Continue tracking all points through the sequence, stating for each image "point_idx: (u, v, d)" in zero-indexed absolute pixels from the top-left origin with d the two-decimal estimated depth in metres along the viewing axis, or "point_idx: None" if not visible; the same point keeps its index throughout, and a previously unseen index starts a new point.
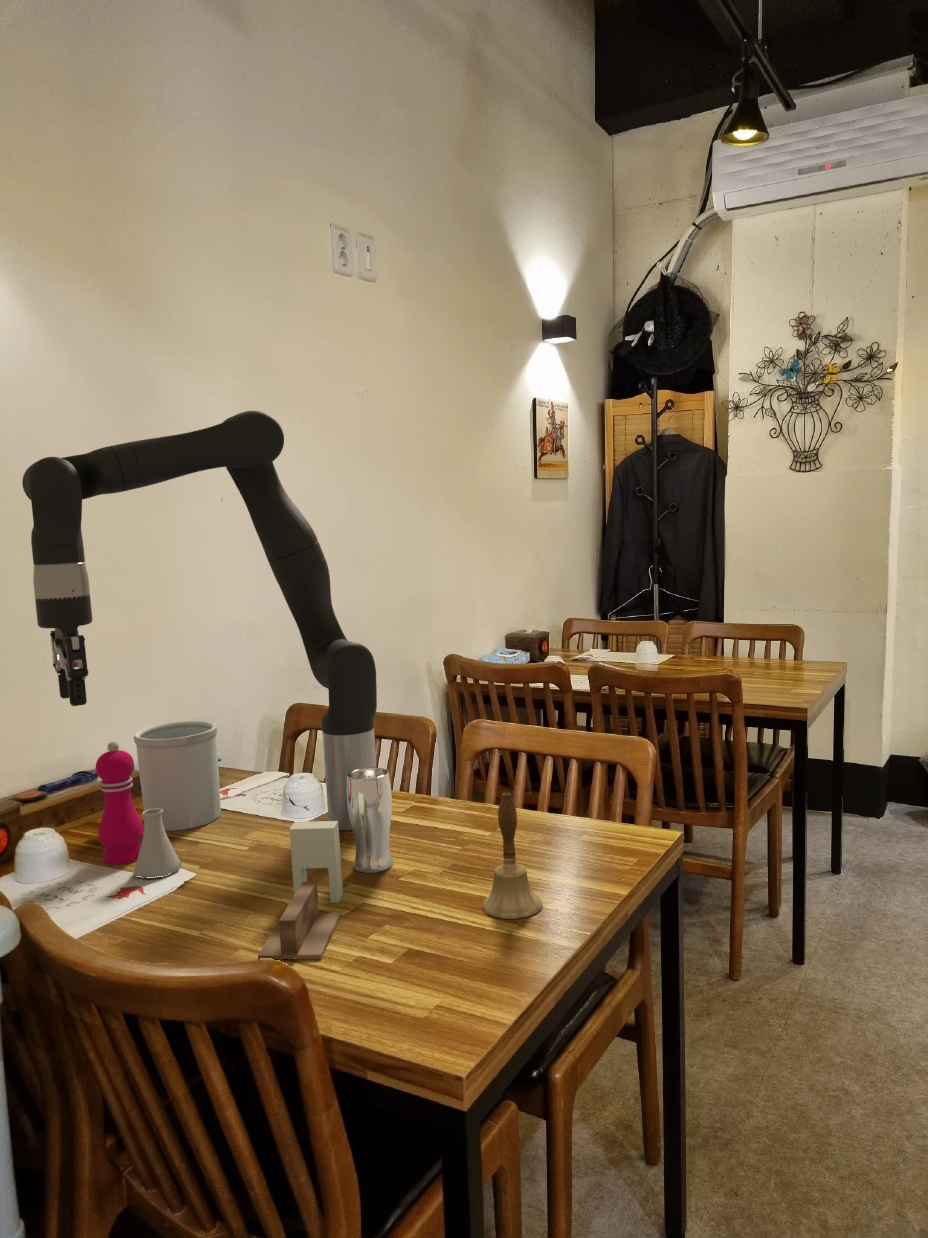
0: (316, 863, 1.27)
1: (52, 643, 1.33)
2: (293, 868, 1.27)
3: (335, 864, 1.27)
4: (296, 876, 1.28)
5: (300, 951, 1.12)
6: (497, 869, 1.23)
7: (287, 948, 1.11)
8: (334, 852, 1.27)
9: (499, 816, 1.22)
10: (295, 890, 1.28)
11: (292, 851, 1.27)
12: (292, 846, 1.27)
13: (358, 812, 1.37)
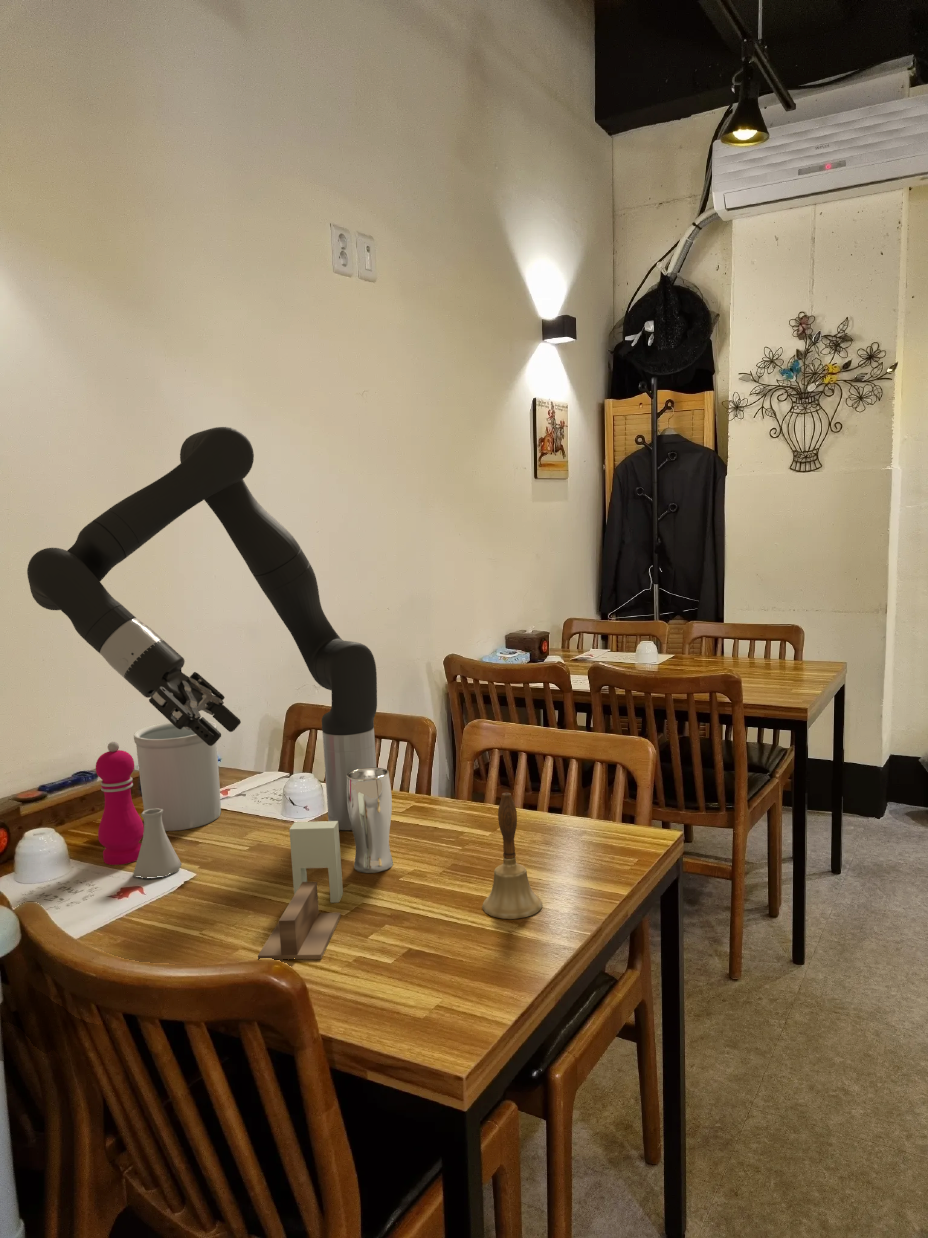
0: (316, 863, 1.27)
1: None
2: (293, 868, 1.27)
3: (335, 864, 1.27)
4: (296, 876, 1.28)
5: (300, 951, 1.12)
6: (497, 869, 1.23)
7: (287, 948, 1.11)
8: (334, 852, 1.27)
9: (499, 816, 1.22)
10: (295, 890, 1.28)
11: (292, 851, 1.27)
12: (292, 846, 1.27)
13: (358, 812, 1.37)
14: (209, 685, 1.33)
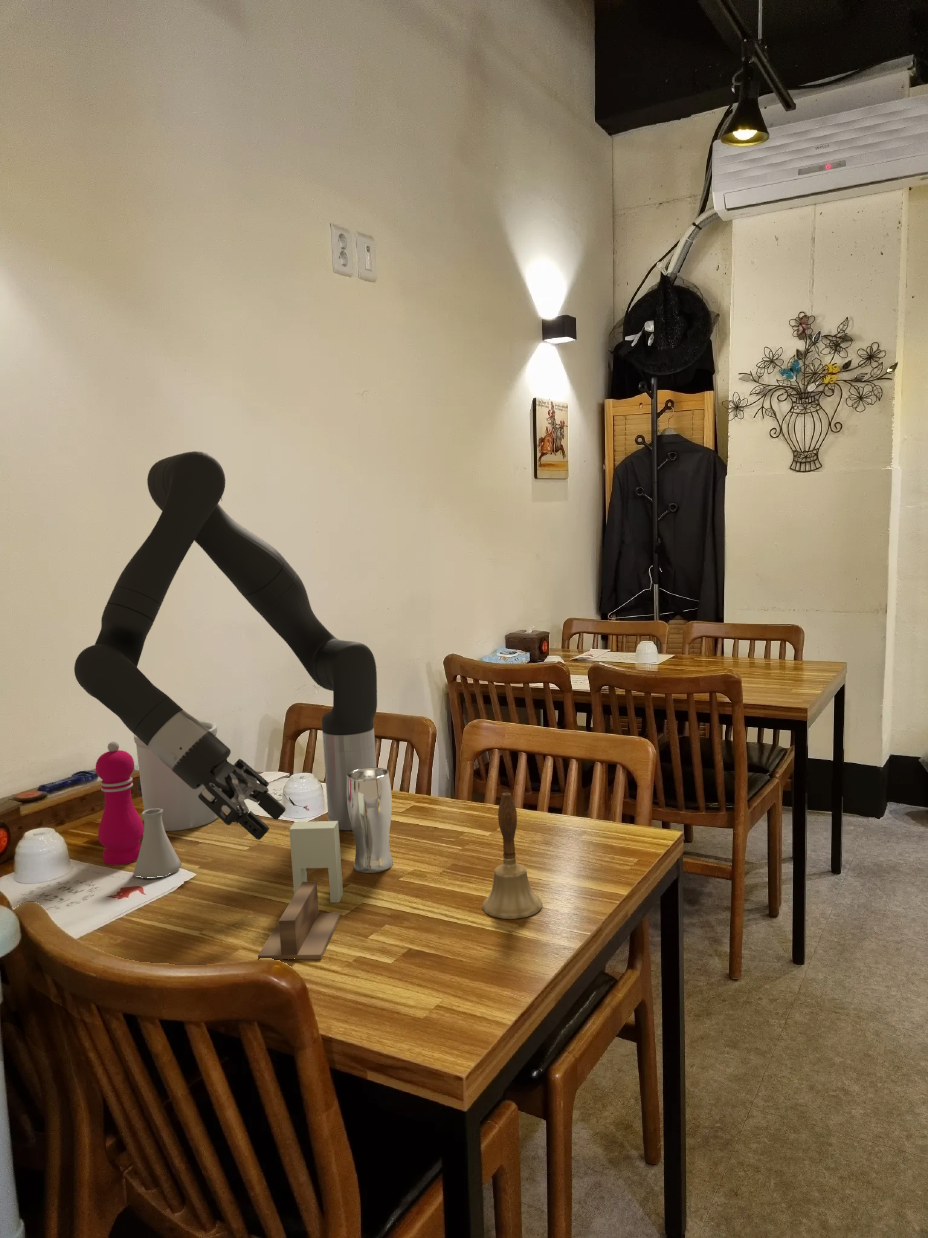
0: (316, 863, 1.27)
1: None
2: (293, 868, 1.27)
3: (335, 864, 1.27)
4: (296, 876, 1.28)
5: (300, 951, 1.12)
6: (497, 869, 1.23)
7: (287, 948, 1.11)
8: (334, 852, 1.27)
9: (499, 816, 1.22)
10: (295, 890, 1.28)
11: (292, 851, 1.27)
12: (292, 846, 1.27)
13: (358, 812, 1.37)
14: (254, 772, 1.34)
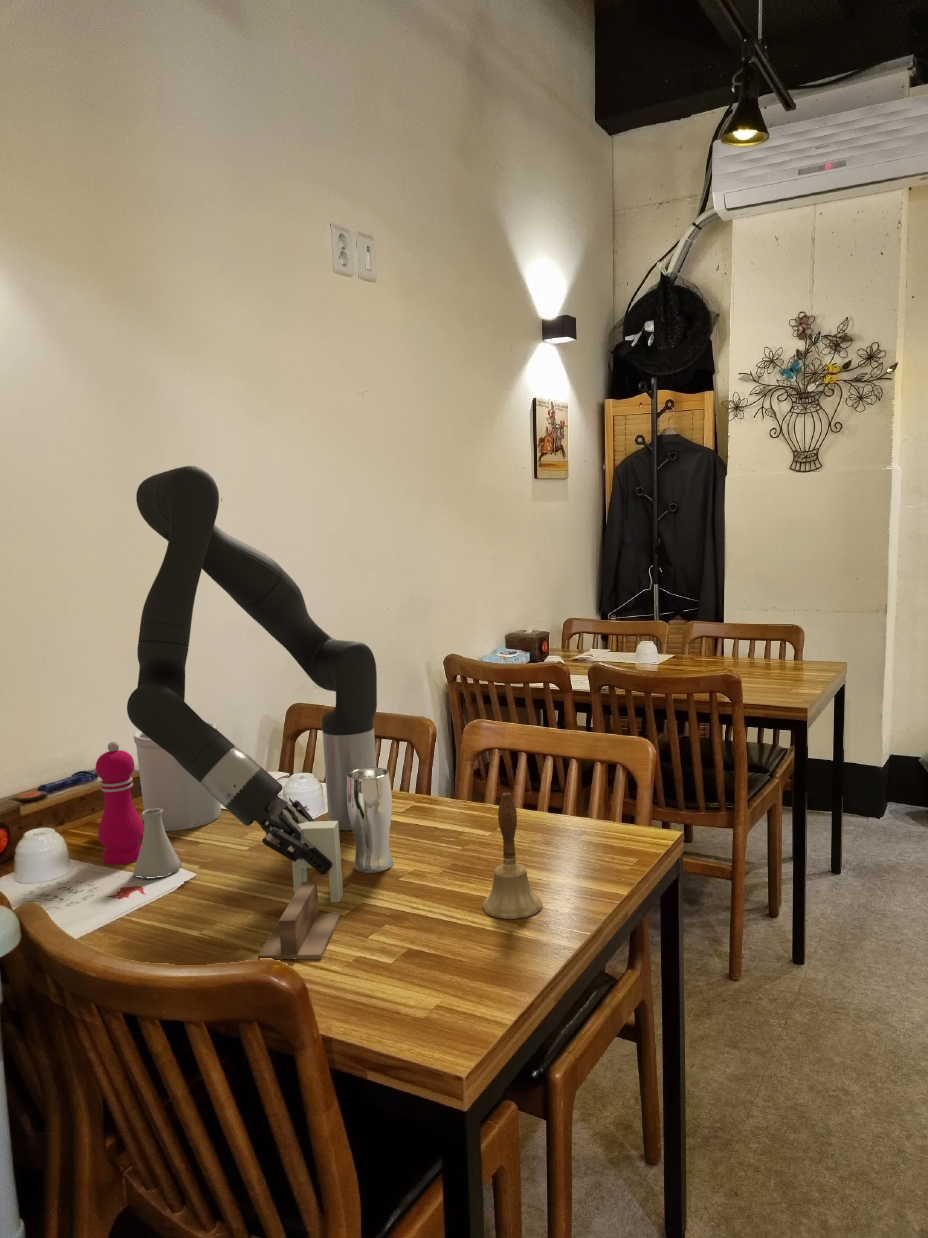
0: None
1: None
2: (293, 868, 1.27)
3: (335, 864, 1.27)
4: (297, 876, 1.28)
5: (300, 951, 1.12)
6: (497, 869, 1.23)
7: (287, 948, 1.11)
8: (334, 852, 1.27)
9: (499, 816, 1.22)
10: (295, 890, 1.28)
11: None
12: None
13: (358, 812, 1.37)
14: (307, 815, 1.33)
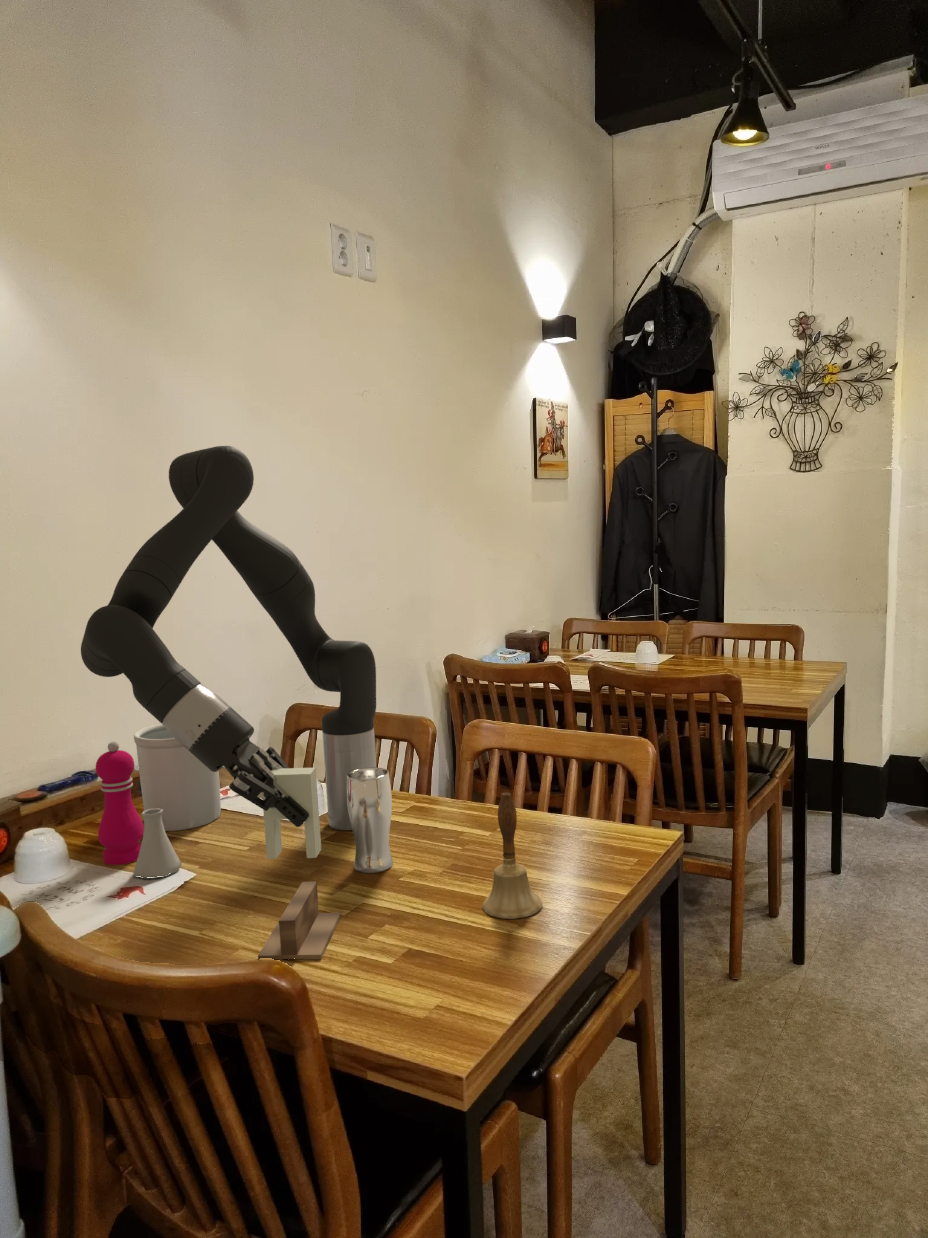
0: None
1: None
2: (265, 819, 1.14)
3: (312, 815, 1.14)
4: (269, 829, 1.14)
5: (300, 951, 1.12)
6: (497, 869, 1.23)
7: (287, 948, 1.11)
8: (311, 801, 1.13)
9: (499, 816, 1.22)
10: (267, 844, 1.14)
11: None
12: None
13: (358, 812, 1.37)
14: (282, 762, 1.20)
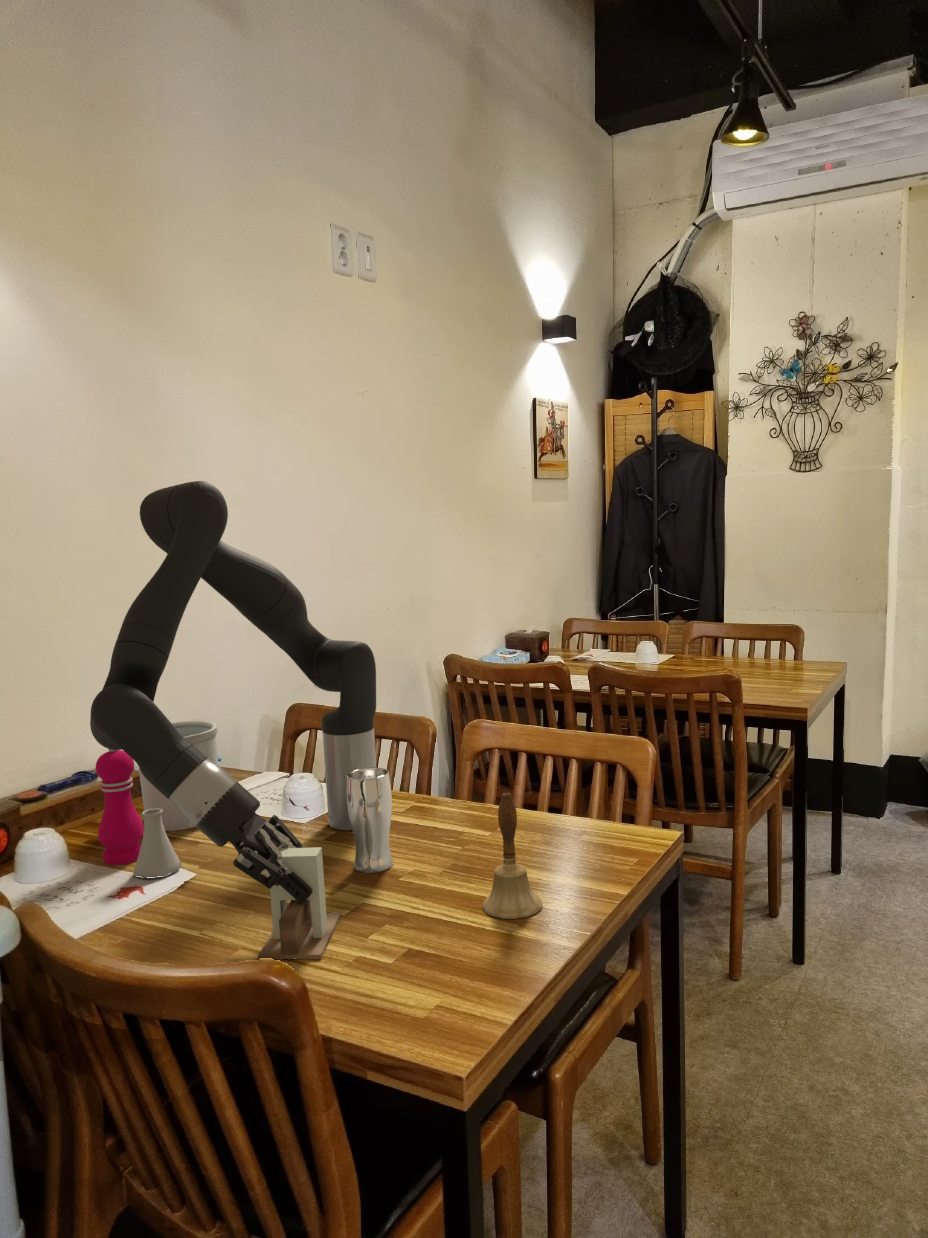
0: None
1: None
2: (272, 900, 1.15)
3: (318, 896, 1.15)
4: (275, 909, 1.15)
5: (300, 951, 1.12)
6: (497, 869, 1.23)
7: (287, 948, 1.11)
8: (317, 882, 1.15)
9: (499, 816, 1.22)
10: (274, 924, 1.16)
11: None
12: None
13: (358, 812, 1.37)
14: (287, 831, 1.21)
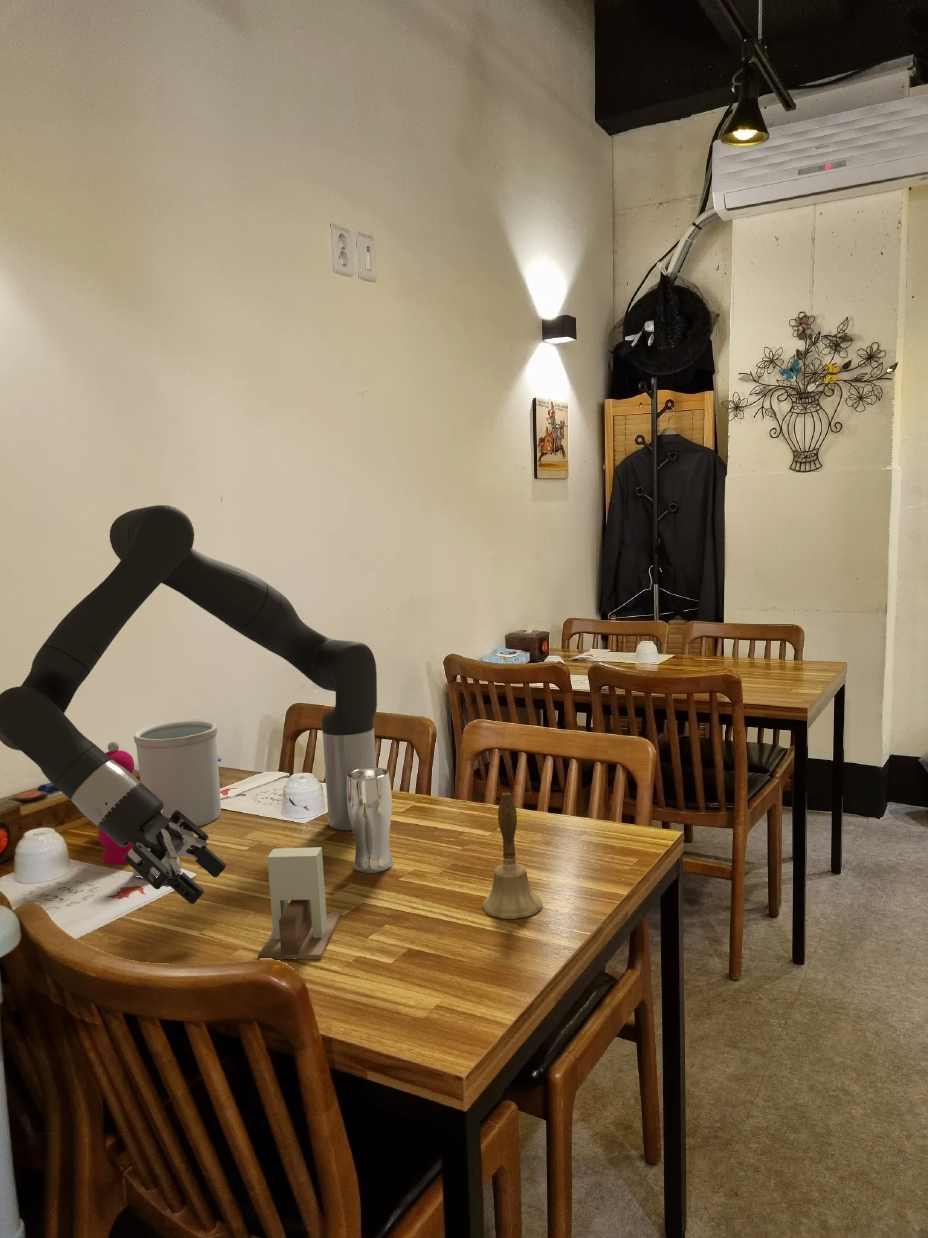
0: (297, 894, 1.15)
1: None
2: (272, 900, 1.15)
3: (318, 896, 1.15)
4: (275, 909, 1.15)
5: (300, 951, 1.12)
6: (497, 869, 1.23)
7: (287, 948, 1.11)
8: (317, 882, 1.15)
9: (499, 816, 1.22)
10: (274, 924, 1.16)
11: (270, 881, 1.15)
12: (270, 875, 1.15)
13: (358, 812, 1.37)
14: (192, 824, 1.23)
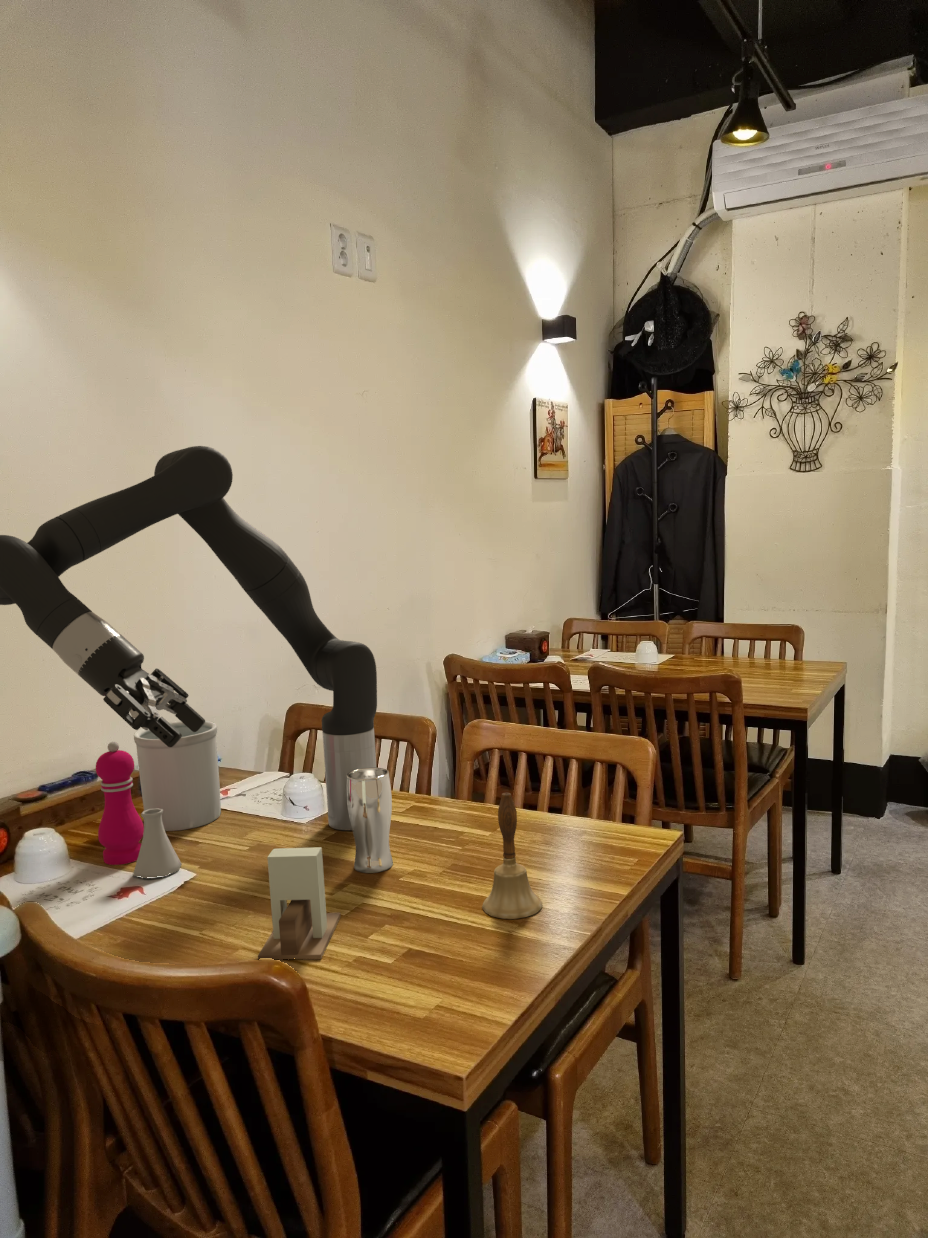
0: (297, 894, 1.15)
1: None
2: (272, 900, 1.15)
3: (318, 896, 1.15)
4: (275, 909, 1.15)
5: (300, 951, 1.12)
6: (497, 869, 1.23)
7: (287, 948, 1.11)
8: (317, 882, 1.15)
9: (499, 816, 1.22)
10: (274, 924, 1.16)
11: (270, 881, 1.15)
12: (270, 875, 1.15)
13: (358, 812, 1.37)
14: (172, 682, 1.26)
